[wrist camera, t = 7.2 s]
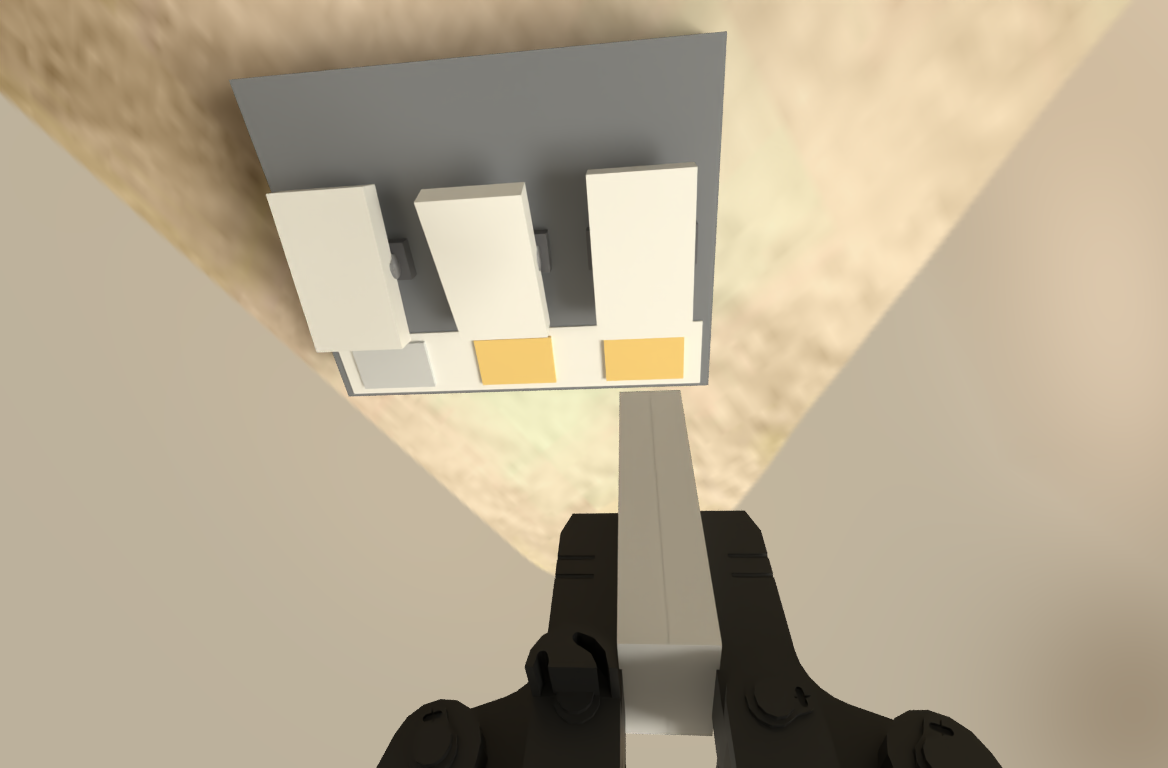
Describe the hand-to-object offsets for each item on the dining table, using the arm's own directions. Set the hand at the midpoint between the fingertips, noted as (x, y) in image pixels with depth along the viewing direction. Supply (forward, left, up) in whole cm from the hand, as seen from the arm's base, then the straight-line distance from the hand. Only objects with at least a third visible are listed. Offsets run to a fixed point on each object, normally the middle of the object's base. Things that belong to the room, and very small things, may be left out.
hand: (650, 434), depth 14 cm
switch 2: (-2, -6, -9) cm, 11 cm away
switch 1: (-2, -12, -9) cm, 15 cm away
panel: (-2, -6, -14) cm, 16 cm away
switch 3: (-2, 0, -9) cm, 9 cm away
